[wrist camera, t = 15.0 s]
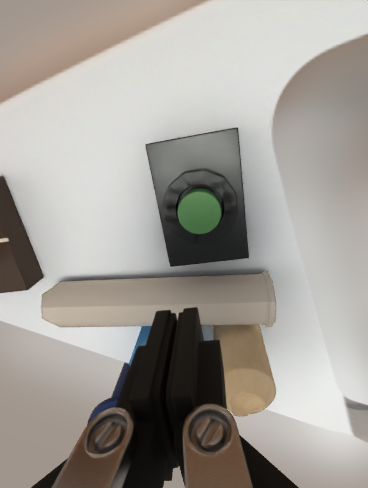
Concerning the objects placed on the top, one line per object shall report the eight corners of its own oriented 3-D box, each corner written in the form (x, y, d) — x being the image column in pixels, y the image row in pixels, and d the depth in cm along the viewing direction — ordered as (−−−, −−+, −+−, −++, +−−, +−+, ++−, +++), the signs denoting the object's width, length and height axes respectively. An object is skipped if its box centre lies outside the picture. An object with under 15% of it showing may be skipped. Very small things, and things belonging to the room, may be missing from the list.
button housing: (246, 249, 28) (251, 266, 24) (172, 258, 29) (167, 275, 25) (235, 128, 23) (240, 126, 20) (150, 144, 25) (140, 144, 21)
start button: (222, 225, 23) (223, 231, 21) (183, 230, 24) (181, 236, 22) (217, 184, 22) (218, 188, 20) (176, 191, 22) (173, 195, 21)
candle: (236, 353, 33) (246, 436, 24) (204, 328, 32) (201, 405, 23) (269, 329, 31) (294, 408, 22) (236, 301, 30) (247, 372, 21)
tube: (45, 338, 29) (272, 336, 26) (21, 310, 26) (278, 303, 23) (65, 300, 33) (263, 294, 30) (46, 271, 30) (267, 261, 27)
